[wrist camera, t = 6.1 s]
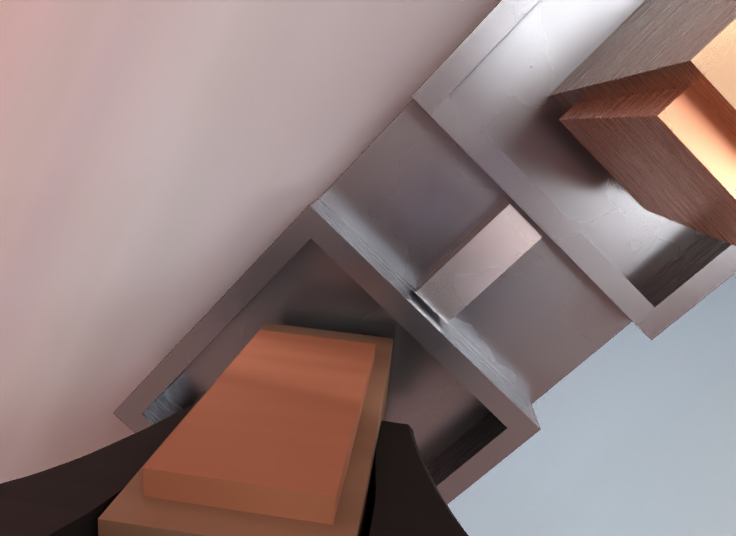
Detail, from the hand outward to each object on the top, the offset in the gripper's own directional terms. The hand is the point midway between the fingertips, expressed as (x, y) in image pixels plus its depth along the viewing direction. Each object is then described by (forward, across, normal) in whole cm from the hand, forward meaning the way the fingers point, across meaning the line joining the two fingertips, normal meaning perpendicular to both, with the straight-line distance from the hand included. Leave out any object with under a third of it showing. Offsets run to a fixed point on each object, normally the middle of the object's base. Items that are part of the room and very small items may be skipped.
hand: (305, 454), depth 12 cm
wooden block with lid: (+2, 0, 0) cm, 2 cm away
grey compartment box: (+4, -3, -4) cm, 6 cm away
